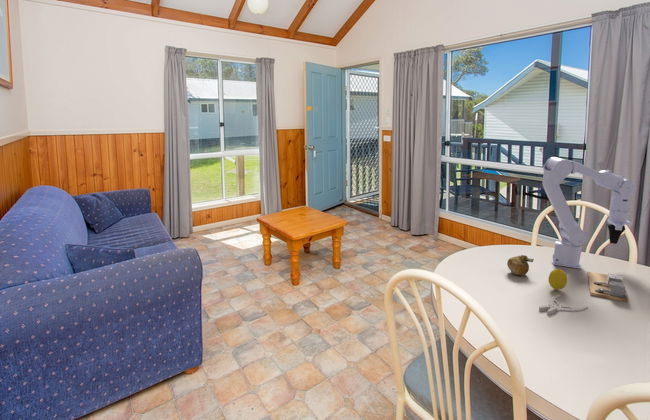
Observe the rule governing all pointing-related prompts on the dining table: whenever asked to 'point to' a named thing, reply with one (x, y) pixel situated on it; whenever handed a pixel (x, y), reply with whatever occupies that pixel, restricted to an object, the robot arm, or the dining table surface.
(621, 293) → the fixed leg
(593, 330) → the dining table surface
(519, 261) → the onion
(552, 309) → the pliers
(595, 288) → the gauge board
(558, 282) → the lemon
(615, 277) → the sliding leg
